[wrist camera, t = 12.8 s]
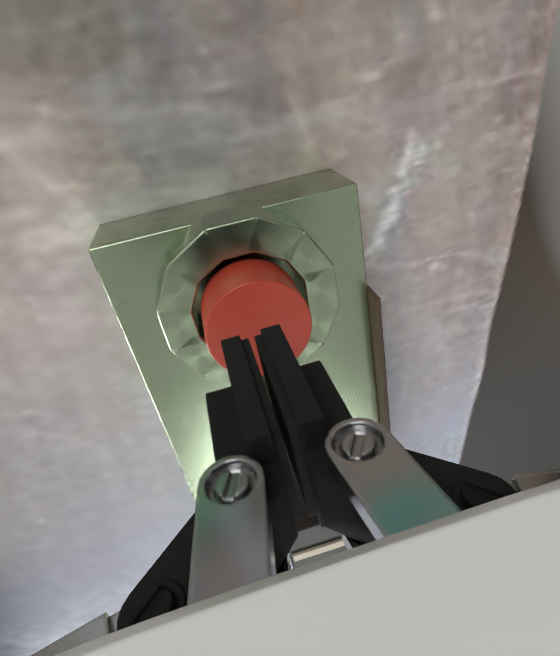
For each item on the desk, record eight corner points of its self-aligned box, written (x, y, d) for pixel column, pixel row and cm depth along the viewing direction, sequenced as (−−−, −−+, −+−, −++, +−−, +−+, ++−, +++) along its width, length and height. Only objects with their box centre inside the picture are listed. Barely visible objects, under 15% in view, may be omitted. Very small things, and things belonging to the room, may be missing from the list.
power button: (214, 357, 17) (220, 388, 16) (188, 272, 16) (190, 297, 14) (304, 332, 18) (319, 360, 16) (288, 247, 16) (303, 268, 14)
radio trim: (282, 479, 27) (300, 543, 23) (235, 300, 21) (249, 349, 17) (372, 451, 27) (404, 509, 24) (352, 269, 21) (391, 310, 17)
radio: (207, 494, 27) (215, 571, 23) (96, 218, 18) (75, 261, 14) (364, 446, 28) (399, 512, 24) (330, 162, 19) (375, 186, 15)
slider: (268, 468, 20) (296, 580, 15) (256, 428, 18) (284, 537, 14) (312, 455, 20) (352, 562, 15) (303, 414, 19) (345, 518, 14)
